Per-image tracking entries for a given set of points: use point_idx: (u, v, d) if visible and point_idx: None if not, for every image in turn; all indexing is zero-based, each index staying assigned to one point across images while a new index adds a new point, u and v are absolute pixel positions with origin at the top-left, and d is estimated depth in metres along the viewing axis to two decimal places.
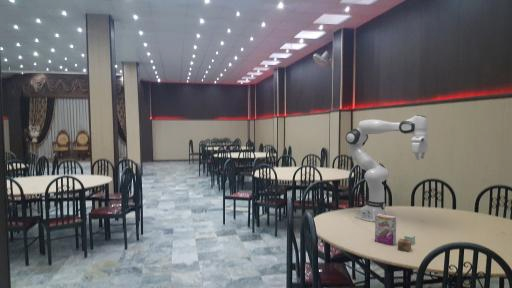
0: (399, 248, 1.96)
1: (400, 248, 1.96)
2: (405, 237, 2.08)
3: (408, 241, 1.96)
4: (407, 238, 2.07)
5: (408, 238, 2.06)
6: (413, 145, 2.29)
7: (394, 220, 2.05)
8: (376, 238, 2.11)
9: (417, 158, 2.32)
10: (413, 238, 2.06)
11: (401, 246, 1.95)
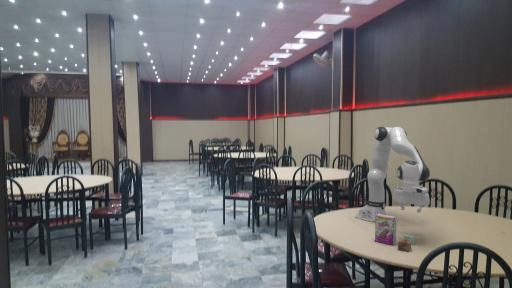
0: (399, 248, 1.96)
1: (400, 248, 1.96)
2: (405, 237, 2.08)
3: (408, 241, 1.96)
4: (407, 238, 2.07)
5: (408, 238, 2.06)
6: (427, 197, 1.99)
7: (394, 220, 2.05)
8: (376, 238, 2.11)
9: (420, 210, 2.03)
10: (413, 238, 2.06)
11: (401, 246, 1.95)
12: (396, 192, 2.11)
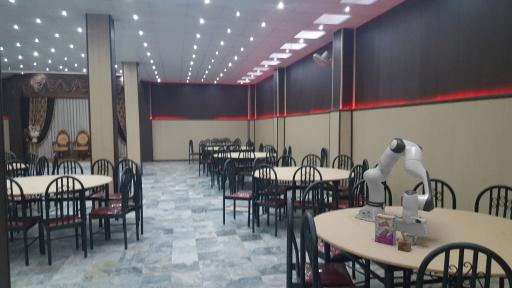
0: (399, 248, 1.96)
1: (400, 248, 1.96)
2: (405, 237, 2.08)
3: (408, 241, 1.96)
4: (407, 238, 2.07)
5: (408, 238, 2.06)
6: (426, 228, 2.00)
7: (394, 220, 2.05)
8: (376, 238, 2.11)
9: (416, 240, 2.06)
10: None
11: (401, 246, 1.95)
12: None
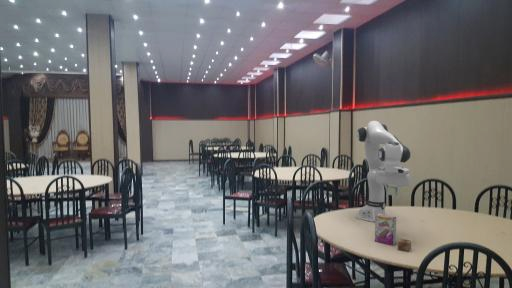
0: (399, 248, 1.96)
1: (400, 248, 1.96)
2: (388, 188, 2.07)
3: (408, 241, 1.96)
4: (390, 189, 2.06)
5: (391, 189, 2.06)
6: (408, 177, 2.00)
7: (394, 220, 2.05)
8: (376, 238, 2.11)
9: (398, 191, 2.05)
10: None
11: (401, 246, 1.95)
12: (378, 173, 2.11)
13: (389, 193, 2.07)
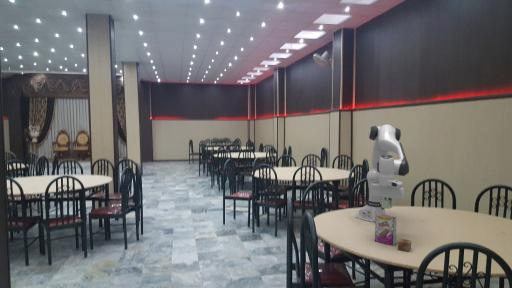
0: (399, 248, 1.96)
1: (400, 248, 1.96)
2: (382, 201, 2.08)
3: (408, 241, 1.96)
4: (384, 202, 2.07)
5: (385, 202, 2.06)
6: (402, 190, 2.00)
7: (394, 220, 2.05)
8: (376, 238, 2.11)
9: (392, 204, 2.06)
10: (390, 202, 2.06)
11: (401, 246, 1.95)
12: (372, 186, 2.12)
13: (383, 206, 2.07)
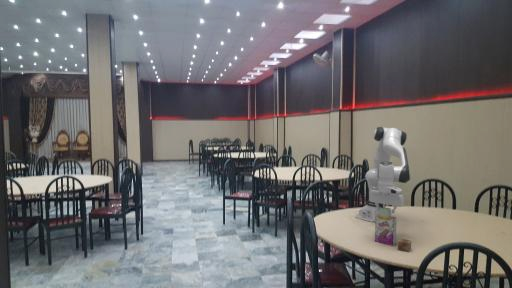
0: (399, 248, 1.96)
1: (400, 248, 1.96)
2: (381, 210, 2.08)
3: (408, 241, 1.96)
4: (383, 211, 2.07)
5: (384, 210, 2.07)
6: (401, 197, 2.01)
7: (394, 220, 2.05)
8: (376, 238, 2.11)
9: (394, 211, 2.05)
10: (389, 210, 2.07)
11: (401, 246, 1.95)
12: (372, 192, 2.12)
13: (382, 215, 2.08)
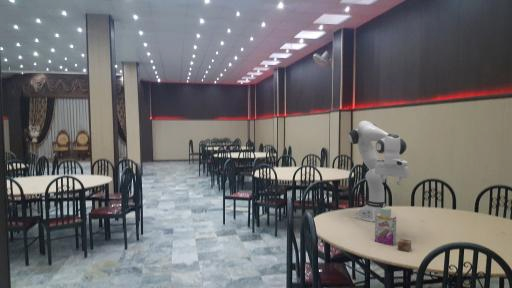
0: (399, 248, 1.96)
1: (400, 248, 1.96)
2: (381, 210, 2.08)
3: (408, 241, 1.96)
4: (383, 210, 2.07)
5: (384, 210, 2.07)
6: (406, 169, 2.04)
7: (394, 220, 2.05)
8: (376, 238, 2.11)
9: (399, 183, 2.08)
10: (389, 210, 2.07)
11: (401, 246, 1.95)
12: (377, 165, 2.15)
13: (382, 215, 2.08)
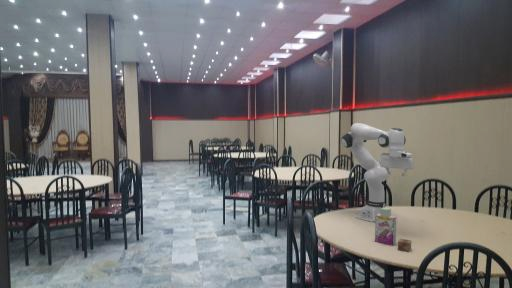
0: (399, 248, 1.96)
1: (400, 248, 1.96)
2: (381, 210, 2.08)
3: (408, 241, 1.96)
4: (383, 210, 2.07)
5: (384, 210, 2.07)
6: (411, 161, 2.12)
7: (394, 220, 2.05)
8: (376, 238, 2.11)
9: None
10: (389, 210, 2.07)
11: (401, 246, 1.95)
12: (383, 158, 2.24)
13: (382, 215, 2.08)
